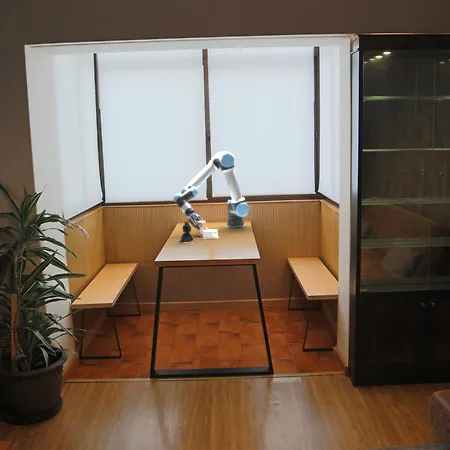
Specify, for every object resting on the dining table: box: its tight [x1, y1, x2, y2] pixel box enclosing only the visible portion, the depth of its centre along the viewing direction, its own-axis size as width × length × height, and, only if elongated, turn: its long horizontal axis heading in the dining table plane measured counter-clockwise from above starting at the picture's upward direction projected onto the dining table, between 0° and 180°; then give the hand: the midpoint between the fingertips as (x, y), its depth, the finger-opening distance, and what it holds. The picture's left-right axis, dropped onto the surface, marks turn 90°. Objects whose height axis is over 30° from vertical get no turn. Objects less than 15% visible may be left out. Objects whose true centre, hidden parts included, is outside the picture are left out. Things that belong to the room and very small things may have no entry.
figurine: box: [177, 220, 194, 243], centre depth 396 cm, size 8×12×15 cm
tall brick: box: [196, 220, 207, 237], centre depth 413 cm, size 5×5×12 cm
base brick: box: [202, 228, 219, 239], centre depth 404 cm, size 8×8×5 cm
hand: (205, 232), depth 411 cm, fingers open, 6 cm apart
